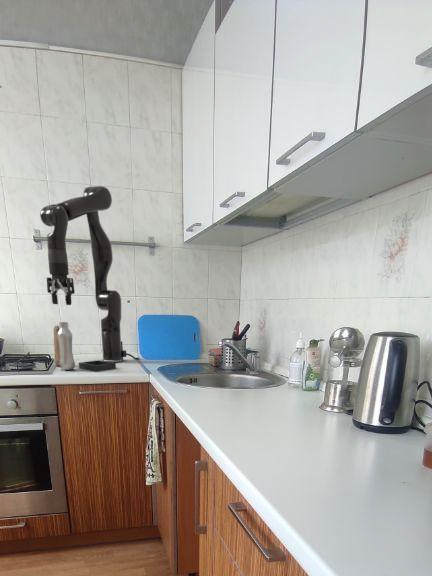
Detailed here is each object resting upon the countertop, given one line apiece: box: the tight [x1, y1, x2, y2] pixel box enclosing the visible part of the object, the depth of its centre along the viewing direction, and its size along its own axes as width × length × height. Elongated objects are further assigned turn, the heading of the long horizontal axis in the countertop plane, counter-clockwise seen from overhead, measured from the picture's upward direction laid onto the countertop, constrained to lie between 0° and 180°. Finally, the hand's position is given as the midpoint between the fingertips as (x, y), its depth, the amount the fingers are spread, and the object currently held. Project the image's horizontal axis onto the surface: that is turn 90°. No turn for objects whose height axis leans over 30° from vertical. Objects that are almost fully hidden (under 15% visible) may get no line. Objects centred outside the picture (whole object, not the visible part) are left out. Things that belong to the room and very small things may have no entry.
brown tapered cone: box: [53, 325, 60, 367], centre depth 213 cm, size 6×18×6 cm
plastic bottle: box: [57, 321, 76, 371], centre depth 202 cm, size 6×7×20 cm
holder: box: [78, 359, 117, 372], centre depth 212 cm, size 12×12×3 cm
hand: (61, 304), depth 196 cm, fingers open, 8 cm apart
